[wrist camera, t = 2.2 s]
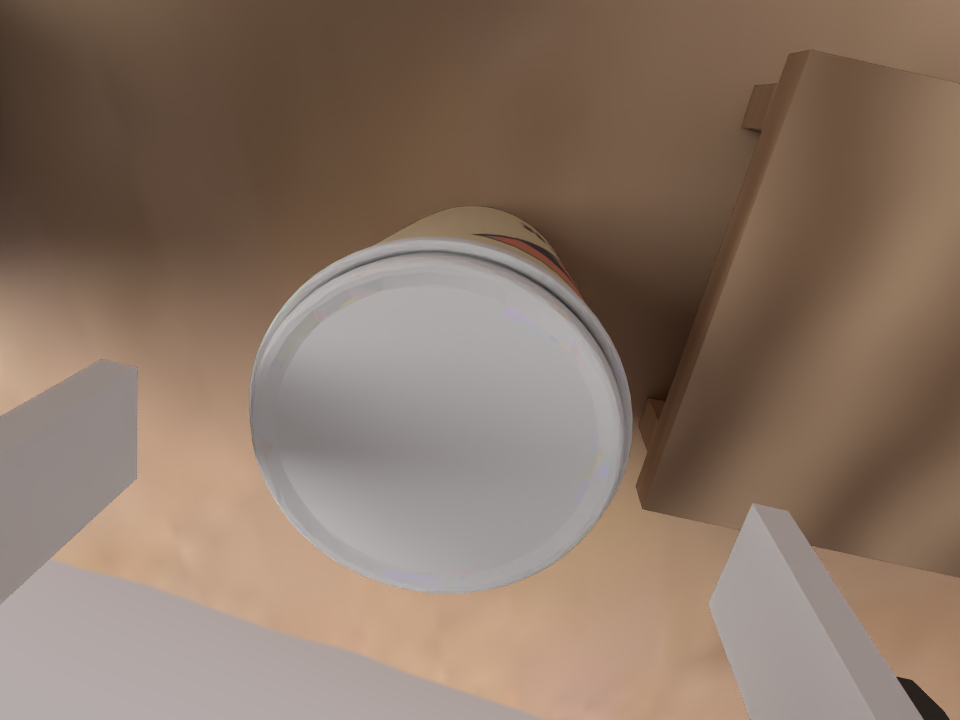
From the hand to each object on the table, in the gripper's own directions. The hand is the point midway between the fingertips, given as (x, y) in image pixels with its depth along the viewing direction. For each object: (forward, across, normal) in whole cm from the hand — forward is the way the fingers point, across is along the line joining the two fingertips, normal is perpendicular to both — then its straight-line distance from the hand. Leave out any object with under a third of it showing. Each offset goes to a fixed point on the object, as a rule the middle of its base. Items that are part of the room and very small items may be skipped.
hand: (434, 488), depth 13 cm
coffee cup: (+14, 0, 0) cm, 14 cm away
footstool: (+14, +15, +3) cm, 20 cm away
